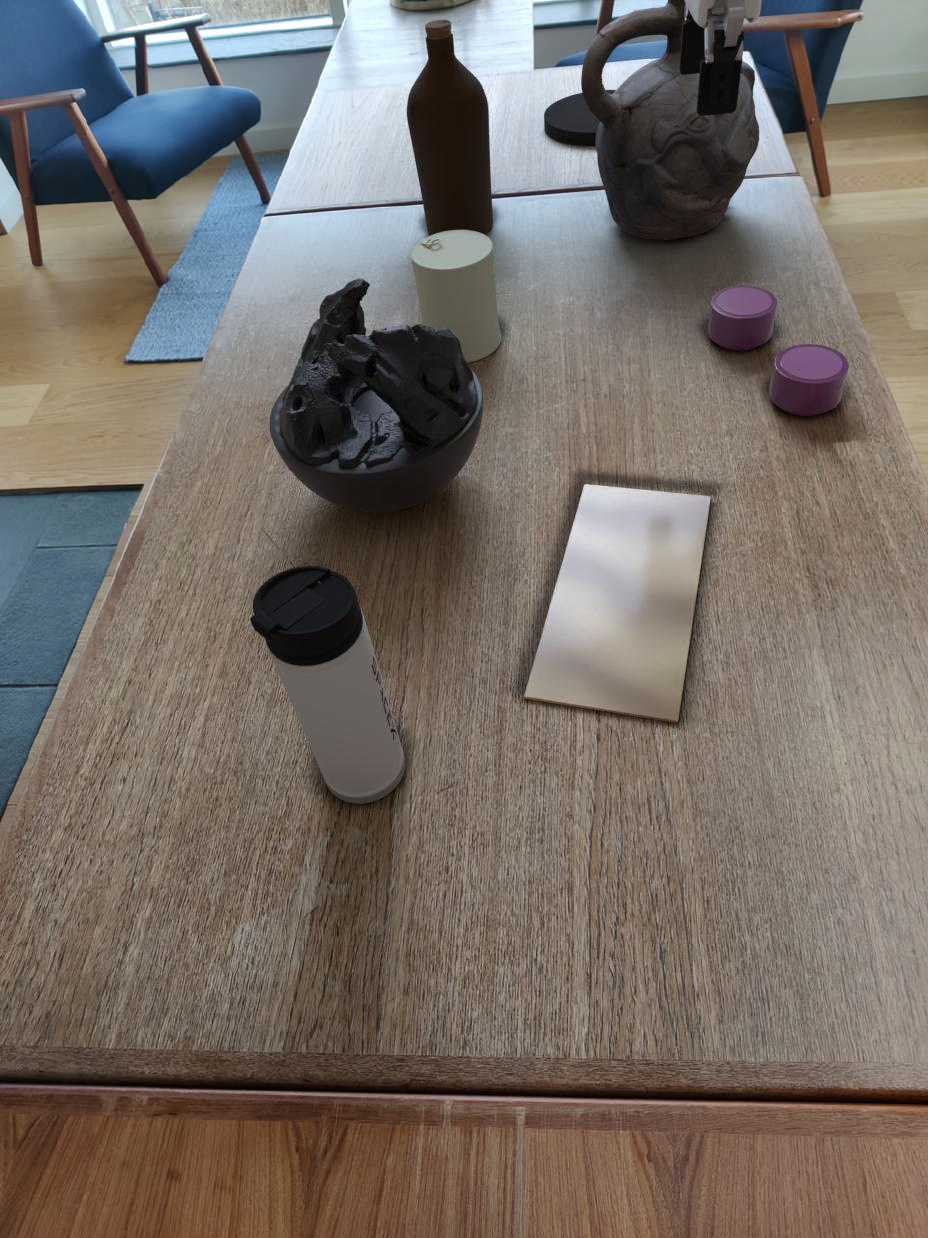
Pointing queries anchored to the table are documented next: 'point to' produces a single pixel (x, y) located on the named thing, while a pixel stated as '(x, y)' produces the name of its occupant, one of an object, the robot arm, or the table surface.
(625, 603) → the beige metallic rectangular plate
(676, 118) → the vessel
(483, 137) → the olive oil
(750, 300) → the purple short cylinder
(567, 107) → the wireless charger
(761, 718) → the table surface
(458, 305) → the can
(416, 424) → the coal bowl
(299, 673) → the travel mug
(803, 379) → the purple short cylinder
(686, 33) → the robot arm
